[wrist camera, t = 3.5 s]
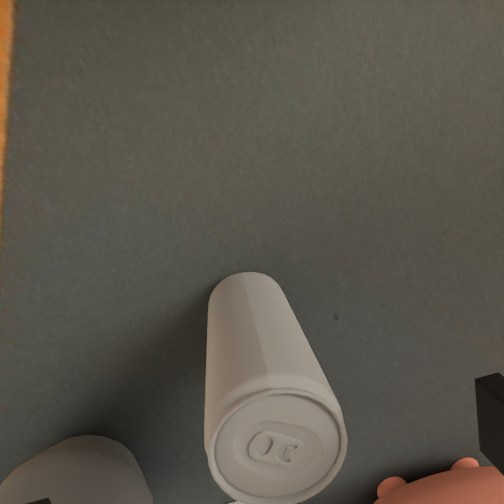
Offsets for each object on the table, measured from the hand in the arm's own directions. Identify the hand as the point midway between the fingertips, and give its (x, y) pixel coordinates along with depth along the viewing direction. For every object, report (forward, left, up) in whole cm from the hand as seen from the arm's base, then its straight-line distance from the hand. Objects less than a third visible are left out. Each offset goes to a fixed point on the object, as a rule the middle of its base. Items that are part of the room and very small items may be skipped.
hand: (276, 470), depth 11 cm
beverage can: (0, 0, -13) cm, 13 cm away
